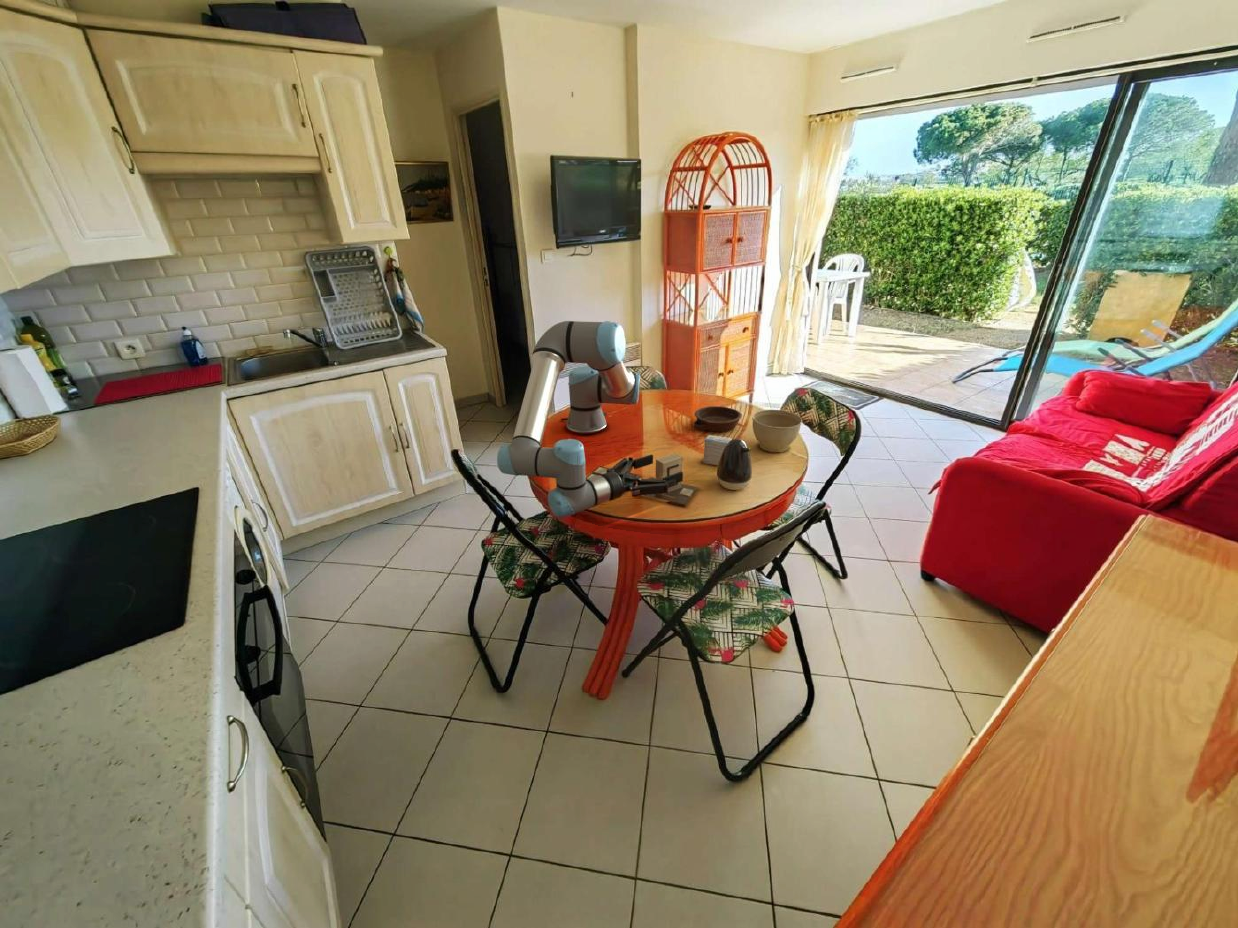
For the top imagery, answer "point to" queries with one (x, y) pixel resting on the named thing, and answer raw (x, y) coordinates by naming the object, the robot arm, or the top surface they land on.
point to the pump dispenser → (735, 465)
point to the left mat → (603, 470)
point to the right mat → (677, 495)
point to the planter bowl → (775, 429)
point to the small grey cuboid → (669, 468)
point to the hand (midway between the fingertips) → (666, 467)
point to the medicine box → (714, 448)
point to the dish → (716, 418)
